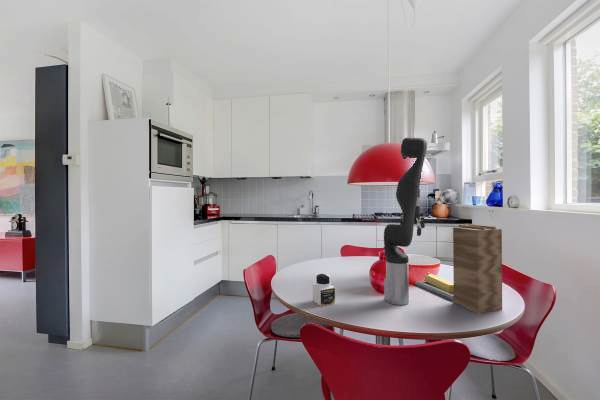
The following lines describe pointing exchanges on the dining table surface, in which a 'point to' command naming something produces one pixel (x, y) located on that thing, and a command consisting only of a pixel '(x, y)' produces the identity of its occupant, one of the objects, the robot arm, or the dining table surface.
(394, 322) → the dining table surface
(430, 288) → the tray
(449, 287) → the bar
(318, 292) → the medicine bottle
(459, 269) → the stand
